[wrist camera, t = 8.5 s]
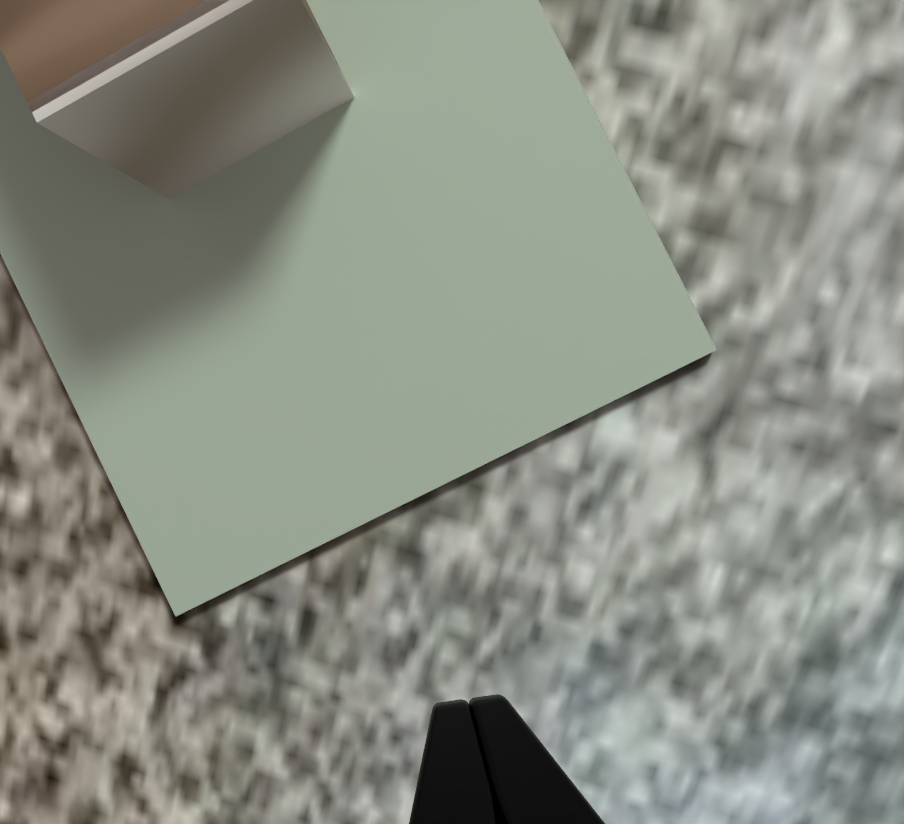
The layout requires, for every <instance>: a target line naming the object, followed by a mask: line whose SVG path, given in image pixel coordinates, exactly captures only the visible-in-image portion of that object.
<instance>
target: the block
mask: <svg viewBox="0 0 904 824" xmlns="http://www.w3.org/2000/svg"><path fill="white" fill-rule="evenodd" d="M0 48H1V50H2V52H3V54H4V56H5V58H6V60H7V62H8V64H9V66H10V68H11V70H12V73H13V75H14V77H15V79H16V81H17V83H18V85H19V87H20V89H21V91H22V93H23V95H24V97H25V99H26V101H27V103H28V105H29V107H30V110H31V112H32V114H33V116H34V118H35V120H36V122H37V123H38V124H40V125H42V126H44V127H45V128H47V129H49V130H50V131H52V132H54V133H56V134H57V135H59V136H61V137H63V138H64V139H66V140H68V141H69V142H71V143H73V144H75V145H76V146H78V147H80V148H82V149H83V150H85V151H87V152H88V153H90V154H92V155H94V156H95V157H97V158H99V159H101V160H102V161H104V162H106V163H107V164H109V165H111V166H113V167H114V168H116V169H118V170H120V171H121V172H123V173H125V174H126V175H128V176H130V177H132V178H133V179H135V180H137V181H139V182H140V183H142V184H144V185H145V186H147V187H149V188H151V189H152V190H154V191H156V192H158V193H159V194H161V195H163V196H165V197H166V198H168V199H169V198H171V197H173V196H175V195H177V194H178V193H180V192H182V191H184V190H186V189H188V188H189V187H191V186H193V185H195V184H197V183H199V182H200V181H202V180H204V179H206V178H208V177H210V176H211V175H213V174H215V173H217V172H219V171H221V170H222V169H224V168H226V167H228V166H230V165H232V164H233V163H235V162H237V161H239V160H241V159H243V158H244V157H246V156H248V155H250V154H252V153H253V152H255V151H257V150H259V149H261V148H263V147H264V146H266V145H268V144H270V143H272V142H274V141H275V140H277V139H279V138H281V137H283V136H285V135H286V134H288V133H290V132H292V131H294V130H296V129H297V128H299V127H301V126H303V125H305V124H307V123H308V122H310V121H312V120H314V119H316V118H318V117H319V116H321V115H323V114H325V113H327V112H329V111H330V110H332V109H334V108H336V107H338V106H339V105H341V104H343V103H345V102H347V101H349V100H350V99H352V98H354V95H353V93H352V91H351V89H350V87H349V85H348V83H347V81H346V79H345V77H344V75H343V73H342V71H341V69H340V67H339V65H338V63H337V61H336V59H335V57H334V55H333V53H332V51H331V49H330V47H329V45H328V43H327V41H326V39H325V37H324V35H323V33H322V31H321V29H320V27H319V25H318V23H317V21H316V19H315V17H314V15H313V13H312V11H311V9H310V7H309V5H308V3H307V1H306V0H0Z"/></svg>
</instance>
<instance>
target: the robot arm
mask: <svg viewBox="0 0 904 824" xmlns="http://www.w3.org/2000/svg"><path fill="white" fill-rule="evenodd" d="M409 824H605V823H604V822H603V821H602V819H601V818H600V817H599V815H598V814H597V813H596V812H595V810H594V809H593V808H592V807H591V805H590V804H589V803H588V802H587V800H586V799H585V798H584V796H583V795H582V794H581V793H580V791H579V790H578V789H577V788H576V786H575V785H574V784H573V782H572V781H571V780H570V779H569V777H568V776H567V775H566V774H565V772H564V771H563V770H562V769H561V767H560V766H559V765H558V763H557V762H556V761H555V760H554V758H553V757H552V756H551V755H550V753H549V752H548V751H547V749H546V748H545V747H544V746H543V744H542V743H541V742H540V741H539V739H538V738H537V737H536V736H535V734H534V733H533V732H532V730H531V729H530V728H529V727H528V725H527V724H526V723H525V722H524V720H523V719H522V718H521V716H520V715H519V714H518V713H517V711H516V710H515V709H514V708H513V706H512V705H511V704H510V703H509V701H508V700H507V699H506V698H505V697H503V696H502V695H490V696H483V697H476V698H472V699H471V700H470V701H469V704H468V703H467V701H465V700H454V701H447V702H440V703H436V704H435V705H434V707H433V709H432V713H431V718H430V723H429V728H428V733H427V738H426V743H425V748H424V753H423V758H422V763H421V768H420V772H419V777H418V782H417V787H416V792H415V797H414V802H413V807H412V812H411V817H410V822H409Z"/></svg>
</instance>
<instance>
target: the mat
mask: <svg viewBox="0 0 904 824" xmlns="http://www.w3.org/2000/svg"><path fill="white" fill-rule="evenodd" d="M306 1H307V3H308V5H309V7H310V9H311V11H312V13H313V15H314V17H315V19H316V21H317V23H318V25H319V27H320V29H321V31H322V33H323V35H324V37H325V39H326V41H327V43H328V45H329V47H330V49H331V51H332V53H333V55H334V57H335V59H336V61H337V63H338V65H339V67H340V69H341V71H342V73H343V75H344V77H345V79H346V81H347V83H348V85H349V87H350V89H351V91H352V93H353V95H354V98H352V99H350V100H349V101H347V102H345V103H343V104H341V105H339V106H338V107H336V108H334V109H332V110H330V111H329V112H327V113H325V114H323V115H321V116H319V117H318V118H316V119H314V120H312V121H310V122H308V123H307V124H305V125H303V126H301V127H299V128H297V129H296V130H294V131H292V132H290V133H288V134H286V135H285V136H283V137H281V138H279V139H277V140H275V141H274V142H272V143H270V144H268V145H266V146H264V147H263V148H261V149H259V150H257V151H255V152H253V153H252V154H250V155H248V156H246V157H244V158H243V159H241V160H239V161H237V162H235V163H233V164H232V165H230V166H228V167H226V168H224V169H222V170H221V171H219V172H217V173H215V174H213V175H211V176H210V177H208V178H206V179H204V180H202V181H200V182H199V183H197V184H195V185H193V186H191V187H189V188H188V189H186V190H184V191H182V192H180V193H178V194H177V195H175V196H173V197H171V198H169V199H168V198H166V197H165V196H163V195H161V194H159V193H158V192H156V191H154V190H152V189H151V188H149V187H147V186H145V185H144V184H142V183H140V182H139V181H137V180H135V179H133V178H132V177H130V176H128V175H126V174H125V173H123V172H121V171H120V170H118V169H116V168H114V167H113V166H111V165H109V164H107V163H106V162H104V161H102V160H101V159H99V158H97V157H95V156H94V155H92V154H90V153H88V152H87V151H85V150H83V149H82V148H80V147H78V146H76V145H75V144H73V143H71V142H69V141H68V140H66V139H64V138H63V137H61V136H59V135H57V134H56V133H54V132H52V131H50V130H49V129H47V128H45V127H44V126H42V125H40V124H38V123H37V122H36V120H35V118H34V116H33V114H32V112H31V110H30V107H29V105H28V103H27V101H26V99H25V97H24V95H23V93H22V91H21V89H20V87H19V85H18V83H17V81H16V79H15V77H14V75H13V73H12V70H11V68H10V66H9V64H8V62H7V60H6V58H5V56H4V54H3V52H2V50H1V48H0V254H1V256H2V258H3V260H4V262H5V264H6V266H7V268H8V271H9V273H10V275H11V277H12V279H13V281H14V283H15V285H16V287H17V289H18V291H19V293H20V295H21V297H22V300H23V302H24V304H25V306H26V308H27V310H28V312H29V314H30V316H31V318H32V320H33V322H34V324H35V326H36V329H37V331H38V333H39V335H40V337H41V339H42V341H43V343H44V345H45V347H46V349H47V351H48V353H49V356H50V358H51V360H52V362H53V364H54V366H55V368H56V370H57V372H58V374H59V376H60V378H61V380H62V382H63V385H64V387H65V389H66V391H67V393H68V395H69V397H70V399H71V401H72V403H73V405H74V407H75V409H76V411H77V414H78V416H79V418H80V420H81V422H82V424H83V426H84V428H85V430H86V432H87V434H88V436H89V438H90V441H91V443H92V445H93V447H94V449H95V451H96V453H97V455H98V457H99V459H100V461H101V463H102V465H103V467H104V470H105V472H106V474H107V476H108V478H109V480H110V482H111V484H112V486H113V488H114V490H115V492H116V494H117V496H118V499H119V501H120V503H121V505H122V507H123V509H124V511H125V513H126V515H127V517H128V519H129V521H130V523H131V525H132V528H133V530H134V532H135V534H136V536H137V538H138V540H139V542H140V544H141V546H142V548H143V550H144V552H145V555H146V557H147V559H148V561H149V563H150V565H151V567H152V569H153V571H154V573H155V575H156V577H157V579H158V581H159V584H160V586H161V588H162V590H163V592H164V594H165V596H166V598H167V600H168V602H169V604H170V606H171V608H172V610H173V613H174V615H175V617H176V616H178V615H180V614H182V613H184V612H186V611H188V610H190V609H192V608H194V607H196V606H198V605H200V604H202V603H204V602H206V601H208V600H210V599H212V598H214V597H217V596H219V595H221V594H223V593H225V592H227V591H229V590H231V589H233V588H235V587H237V586H239V585H241V584H243V583H245V582H247V581H249V580H251V579H253V578H255V577H257V576H259V575H261V574H263V573H265V572H267V571H269V570H271V569H273V568H275V567H277V566H279V565H281V564H283V563H285V562H288V561H290V560H292V559H294V558H296V557H298V556H300V555H302V554H304V553H306V552H308V551H310V550H312V549H314V548H316V547H318V546H320V545H322V544H324V543H326V542H328V541H330V540H332V539H334V538H336V537H338V536H340V535H342V534H344V533H346V532H348V531H350V530H352V529H354V528H357V527H359V526H361V525H363V524H365V523H367V522H369V521H371V520H373V519H375V518H377V517H379V516H381V515H383V514H385V513H387V512H389V511H391V510H393V509H395V508H397V507H399V506H401V505H403V504H405V503H407V502H409V501H411V500H413V499H415V498H417V497H419V496H421V495H423V494H426V493H428V492H430V491H432V490H434V489H436V488H438V487H440V486H442V485H444V484H446V483H448V482H450V481H452V480H454V479H456V478H458V477H460V476H462V475H464V474H466V473H468V472H470V471H472V470H474V469H476V468H478V467H480V466H482V465H484V464H486V463H488V462H490V461H492V460H494V459H497V458H499V457H501V456H503V455H505V454H507V453H509V452H511V451H513V450H515V449H517V448H519V447H521V446H523V445H525V444H527V443H529V442H531V441H533V440H535V439H537V438H539V437H541V436H543V435H545V434H547V433H549V432H551V431H553V430H555V429H557V428H559V427H561V426H563V425H566V424H568V423H570V422H572V421H574V420H576V419H578V418H580V417H582V416H584V415H586V414H588V413H590V412H592V411H594V410H596V409H598V408H600V407H602V406H604V405H606V404H608V403H610V402H612V401H614V400H616V399H618V398H620V397H622V396H624V395H626V394H628V393H630V392H632V391H635V390H637V389H639V388H641V387H643V386H645V385H647V384H649V383H651V382H653V381H655V380H657V379H659V378H661V377H663V376H665V375H667V374H669V373H671V372H673V371H675V370H677V369H679V368H681V367H683V366H685V365H687V364H689V363H691V362H693V361H695V360H697V359H699V358H701V357H703V356H706V355H708V354H710V353H712V352H714V351H716V348H715V346H714V344H713V342H712V340H711V338H710V336H709V334H708V332H707V330H706V328H705V326H704V324H703V322H702V320H701V318H700V316H699V314H698V312H697V310H696V308H695V306H694V304H693V303H692V301H691V299H690V297H689V295H688V293H687V291H686V289H685V287H684V285H683V283H682V281H681V279H680V277H679V275H678V273H677V271H676V269H675V267H674V265H673V263H672V261H671V259H670V257H669V256H668V254H667V252H666V250H665V248H664V246H663V244H662V242H661V240H660V238H659V236H658V234H657V232H656V230H655V228H654V226H653V224H652V222H651V220H650V218H649V216H648V214H647V212H646V210H645V209H644V207H643V205H642V203H641V201H640V199H639V197H638V195H637V193H636V191H635V189H634V187H633V185H632V183H631V181H630V179H629V177H628V175H627V173H626V171H625V169H624V167H623V165H622V163H621V162H620V160H619V158H618V156H617V154H616V152H615V150H614V148H613V146H612V144H611V142H610V140H609V138H608V136H607V134H606V132H605V130H604V128H603V126H602V124H601V122H600V120H599V118H598V116H597V115H596V113H595V111H594V109H593V107H592V105H591V103H590V101H589V99H588V97H587V95H586V93H585V91H584V89H583V87H582V85H581V83H580V81H579V79H578V77H577V75H576V73H575V71H574V69H573V68H572V66H571V64H570V62H569V60H568V58H567V56H566V54H565V52H564V50H563V48H562V46H561V44H560V42H559V40H558V38H557V36H556V34H555V32H554V30H553V28H552V26H551V24H550V22H549V21H548V19H547V17H546V15H545V13H544V11H543V9H542V7H541V5H540V3H539V1H538V0H306Z"/></svg>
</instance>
